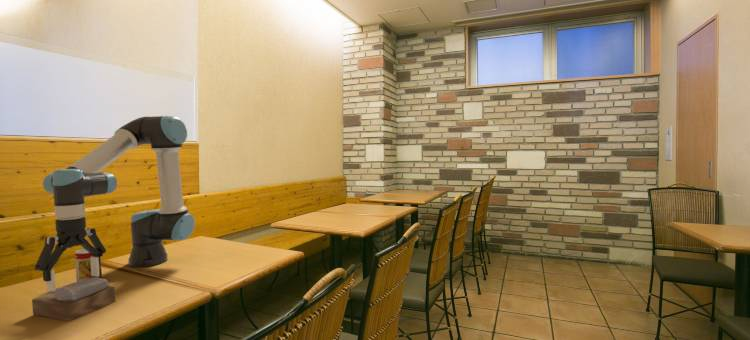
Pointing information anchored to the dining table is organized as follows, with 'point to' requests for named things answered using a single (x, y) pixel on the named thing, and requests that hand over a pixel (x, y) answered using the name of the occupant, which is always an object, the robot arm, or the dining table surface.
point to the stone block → (80, 289)
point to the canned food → (84, 265)
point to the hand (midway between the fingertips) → (74, 283)
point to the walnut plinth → (71, 305)
